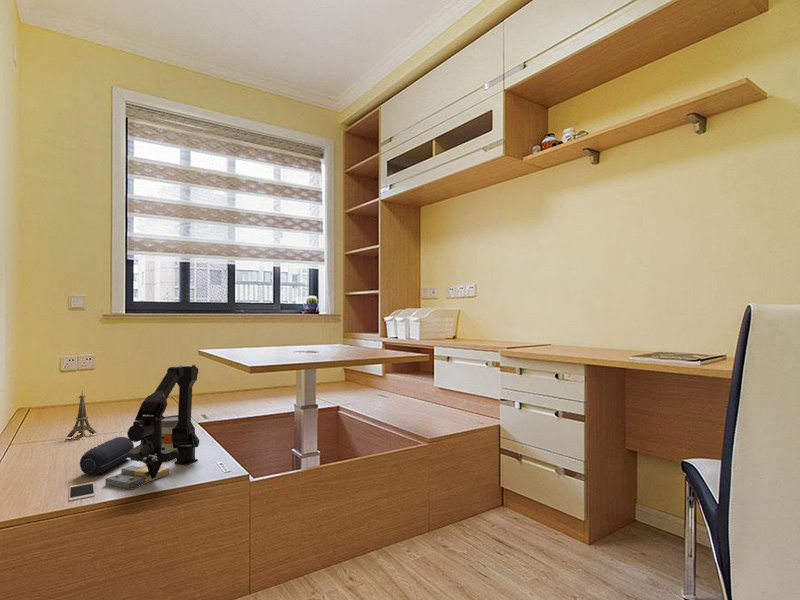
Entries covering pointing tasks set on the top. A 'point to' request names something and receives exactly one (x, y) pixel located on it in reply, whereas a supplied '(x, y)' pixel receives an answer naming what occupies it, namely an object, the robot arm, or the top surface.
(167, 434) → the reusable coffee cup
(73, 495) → the smartphone
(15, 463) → the top surface
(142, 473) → the tan flat block
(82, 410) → the eiffel tower
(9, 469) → the top surface
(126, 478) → the grey stepped block
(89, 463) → the portable speaker
